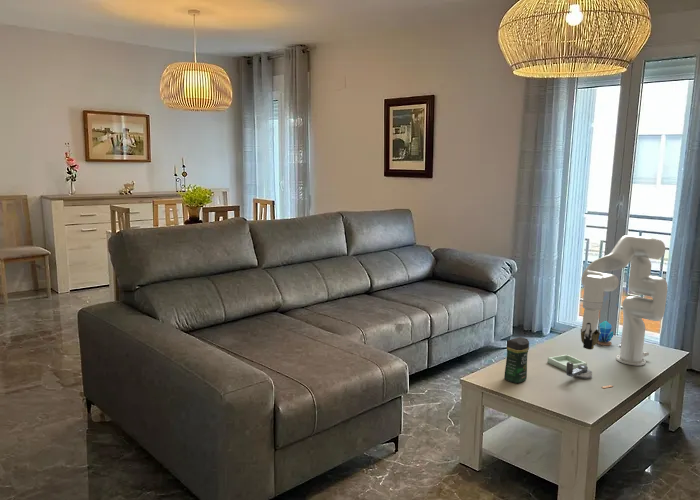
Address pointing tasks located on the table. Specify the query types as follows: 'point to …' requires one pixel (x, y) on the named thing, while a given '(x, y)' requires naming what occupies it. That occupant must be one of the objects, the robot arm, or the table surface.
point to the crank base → (584, 374)
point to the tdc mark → (607, 386)
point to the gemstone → (605, 334)
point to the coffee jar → (516, 360)
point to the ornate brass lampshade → (594, 337)
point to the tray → (565, 361)
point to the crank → (574, 372)
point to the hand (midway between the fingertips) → (589, 345)
